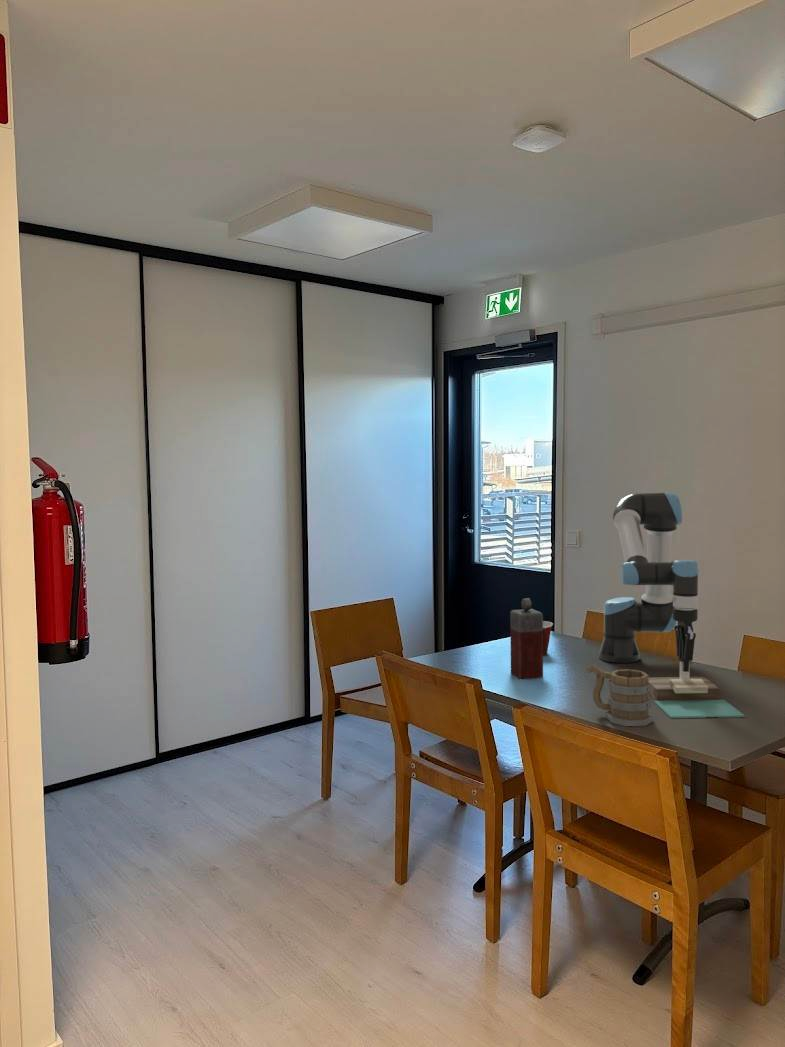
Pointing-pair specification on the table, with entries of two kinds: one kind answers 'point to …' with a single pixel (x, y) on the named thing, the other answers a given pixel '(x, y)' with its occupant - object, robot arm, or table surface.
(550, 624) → the plastic cup
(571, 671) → the table surface
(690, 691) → the tile
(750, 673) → the table surface
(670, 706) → the mat
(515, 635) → the toy vending machine
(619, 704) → the tankard
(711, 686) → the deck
